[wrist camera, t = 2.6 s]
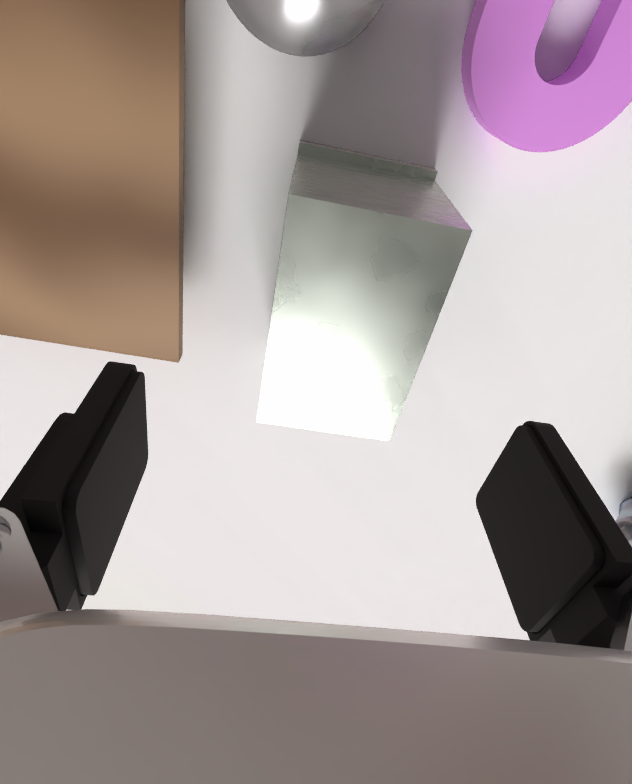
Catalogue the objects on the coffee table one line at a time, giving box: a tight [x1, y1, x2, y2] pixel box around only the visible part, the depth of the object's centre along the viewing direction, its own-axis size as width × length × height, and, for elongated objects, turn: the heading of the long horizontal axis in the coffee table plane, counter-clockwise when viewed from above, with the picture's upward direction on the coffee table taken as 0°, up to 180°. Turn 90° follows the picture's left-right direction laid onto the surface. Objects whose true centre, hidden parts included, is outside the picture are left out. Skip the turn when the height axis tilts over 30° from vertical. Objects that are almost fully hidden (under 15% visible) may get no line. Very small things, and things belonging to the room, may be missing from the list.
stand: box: [0, 0, 185, 362], centre depth 16 cm, size 12×12×3 cm
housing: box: [256, 140, 472, 441], centre depth 17 cm, size 9×5×6 cm, turn 169°
